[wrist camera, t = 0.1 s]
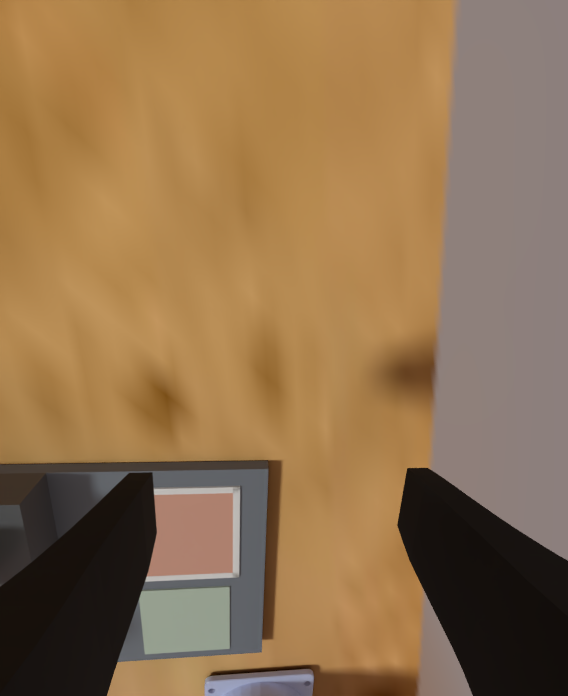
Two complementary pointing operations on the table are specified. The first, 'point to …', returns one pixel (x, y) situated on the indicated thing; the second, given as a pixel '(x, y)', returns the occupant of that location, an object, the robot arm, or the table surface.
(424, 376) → the table surface
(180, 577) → the activity board
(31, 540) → the button housing
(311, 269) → the table surface
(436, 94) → the table surface
